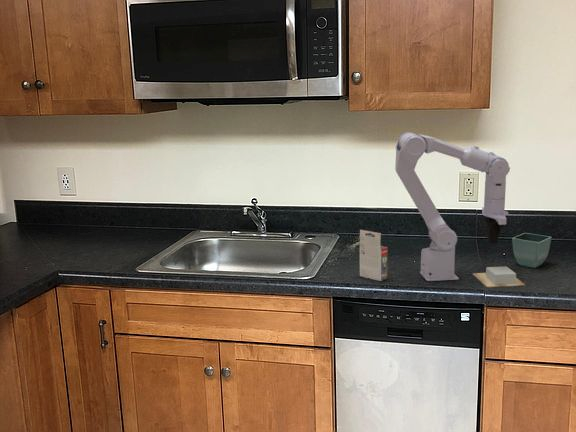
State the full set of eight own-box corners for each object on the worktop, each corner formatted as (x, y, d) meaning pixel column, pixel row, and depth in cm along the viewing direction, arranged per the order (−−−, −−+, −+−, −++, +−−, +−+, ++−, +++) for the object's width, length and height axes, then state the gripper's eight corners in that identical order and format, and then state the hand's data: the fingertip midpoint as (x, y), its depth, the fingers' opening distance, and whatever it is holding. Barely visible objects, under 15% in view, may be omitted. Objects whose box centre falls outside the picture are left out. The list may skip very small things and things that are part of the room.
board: (486, 287, 184) (487, 286, 184) (472, 274, 196) (472, 273, 196) (525, 285, 185) (525, 284, 185) (508, 272, 196) (508, 271, 196)
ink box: (366, 273, 199) (366, 226, 196) (388, 278, 194) (388, 230, 191) (359, 276, 197) (358, 229, 194) (380, 282, 191) (381, 233, 188)
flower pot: (509, 265, 203) (511, 237, 201) (523, 259, 209) (524, 232, 207) (537, 271, 197) (539, 242, 195) (550, 264, 203) (552, 236, 201)
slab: (485, 277, 192) (494, 284, 185) (486, 267, 191) (495, 274, 184) (506, 276, 192) (515, 283, 185) (506, 266, 192) (516, 273, 185)
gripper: (518, 202, 183) (515, 249, 186) (499, 192, 197) (497, 236, 200) (493, 202, 182) (490, 250, 185) (476, 193, 196) (474, 237, 199)
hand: (492, 243), depth 193 cm, fingers closed
